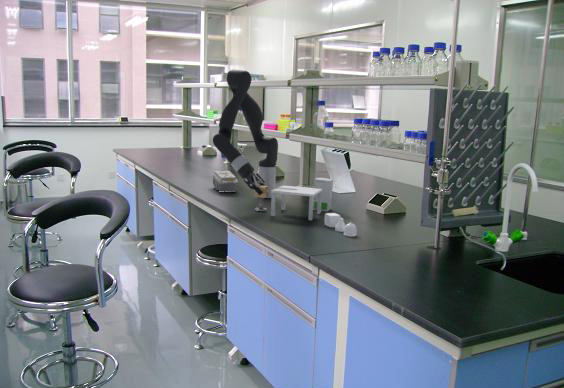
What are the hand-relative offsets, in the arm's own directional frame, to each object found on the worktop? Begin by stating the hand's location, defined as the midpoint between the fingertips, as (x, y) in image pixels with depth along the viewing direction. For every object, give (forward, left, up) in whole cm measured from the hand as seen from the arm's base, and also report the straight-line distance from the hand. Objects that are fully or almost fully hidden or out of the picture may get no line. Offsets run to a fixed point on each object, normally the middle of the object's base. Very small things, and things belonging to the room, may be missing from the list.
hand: (264, 192), depth 243 cm
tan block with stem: (0, -2, -9) cm, 9 cm away
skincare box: (-17, +24, -9) cm, 31 cm away
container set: (+19, +42, -9) cm, 47 cm away
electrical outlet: (-42, -41, -9) cm, 59 cm away
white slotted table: (0, +16, -9) cm, 19 cm away
